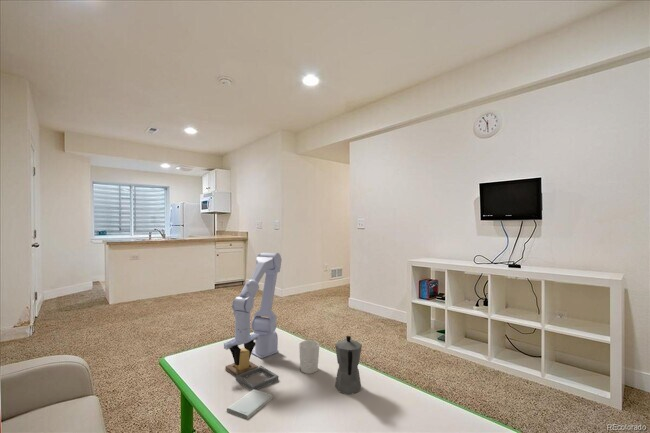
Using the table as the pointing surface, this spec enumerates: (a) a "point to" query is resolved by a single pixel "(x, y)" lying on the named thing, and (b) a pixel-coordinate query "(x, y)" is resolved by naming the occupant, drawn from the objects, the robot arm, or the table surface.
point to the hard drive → (249, 403)
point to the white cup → (309, 356)
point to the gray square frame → (261, 384)
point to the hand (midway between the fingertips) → (242, 362)
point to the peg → (243, 360)
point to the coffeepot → (348, 366)
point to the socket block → (235, 372)
